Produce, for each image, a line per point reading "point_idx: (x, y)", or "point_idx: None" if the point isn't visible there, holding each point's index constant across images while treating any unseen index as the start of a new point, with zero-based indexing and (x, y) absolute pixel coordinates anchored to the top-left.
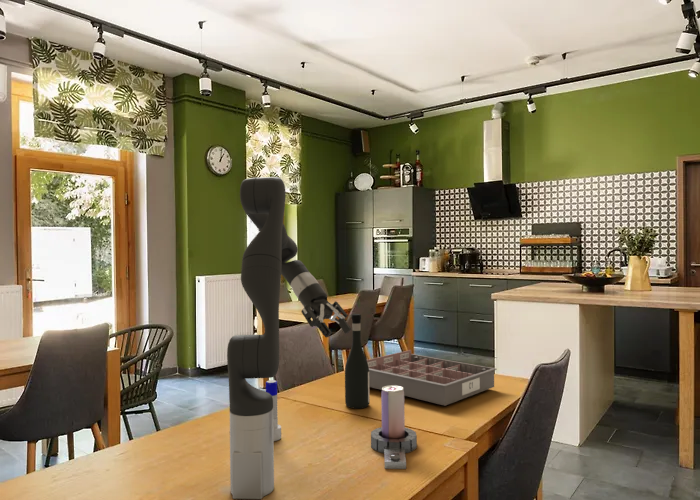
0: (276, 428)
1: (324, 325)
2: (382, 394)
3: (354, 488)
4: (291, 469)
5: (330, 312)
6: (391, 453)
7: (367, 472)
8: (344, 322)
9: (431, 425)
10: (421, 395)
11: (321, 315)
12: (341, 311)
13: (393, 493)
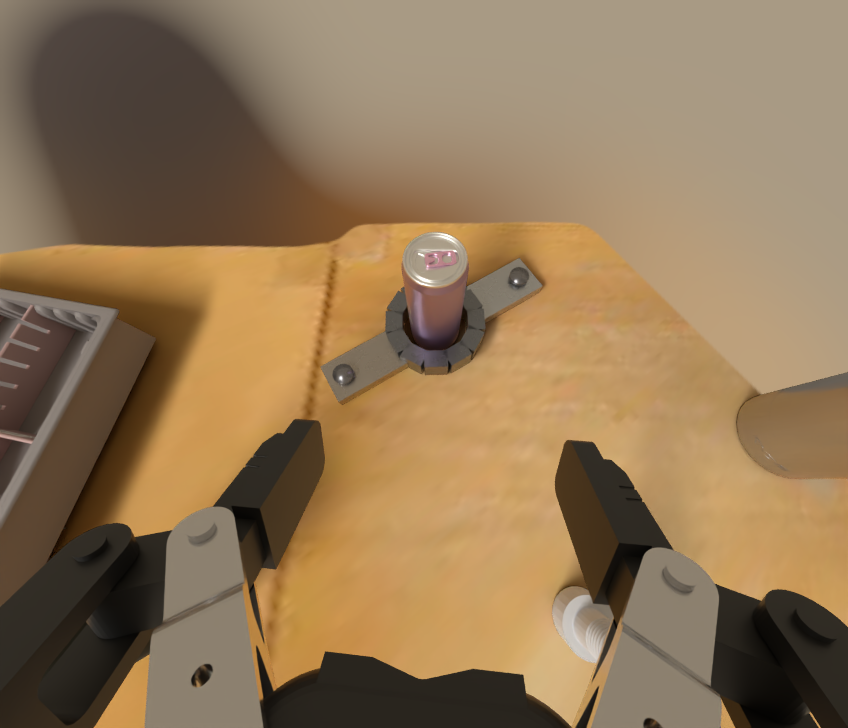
0: (589, 604)
1: (631, 512)
2: (463, 282)
3: (633, 294)
4: (664, 432)
5: (341, 705)
6: (502, 294)
7: (570, 308)
8: (282, 477)
9: (287, 320)
10: (110, 407)
11: (675, 660)
12: (45, 647)
13: (602, 242)
